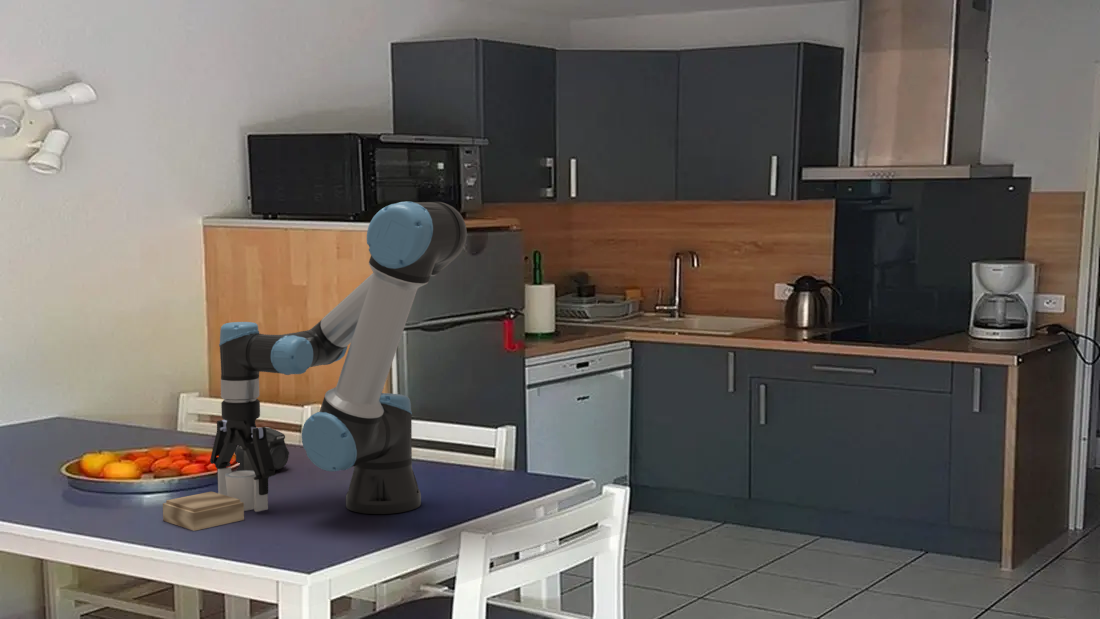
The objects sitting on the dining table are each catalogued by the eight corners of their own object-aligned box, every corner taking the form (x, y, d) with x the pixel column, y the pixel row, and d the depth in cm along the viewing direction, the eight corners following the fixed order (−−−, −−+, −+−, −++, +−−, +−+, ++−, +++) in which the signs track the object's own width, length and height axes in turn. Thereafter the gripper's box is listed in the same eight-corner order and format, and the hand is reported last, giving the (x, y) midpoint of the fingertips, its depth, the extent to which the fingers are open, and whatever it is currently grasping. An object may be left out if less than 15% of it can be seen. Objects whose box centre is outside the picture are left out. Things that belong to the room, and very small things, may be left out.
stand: (244, 519, 247) (243, 499, 247) (194, 530, 239) (193, 510, 239) (212, 510, 254) (212, 490, 254) (163, 520, 246) (162, 500, 246)
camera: (272, 479, 282) (271, 435, 281) (231, 477, 284) (230, 433, 283) (297, 466, 295) (296, 424, 294) (257, 464, 297) (256, 422, 296)
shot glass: (218, 509, 255) (217, 475, 254) (239, 502, 261) (238, 468, 261) (247, 512, 252) (246, 478, 252) (267, 505, 259) (266, 471, 258)
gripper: (292, 403, 249) (294, 511, 251) (222, 390, 266) (225, 491, 268) (259, 408, 244) (262, 518, 246) (191, 394, 260) (193, 498, 262)
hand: (242, 504), depth 257 cm, fingers open, 12 cm apart
